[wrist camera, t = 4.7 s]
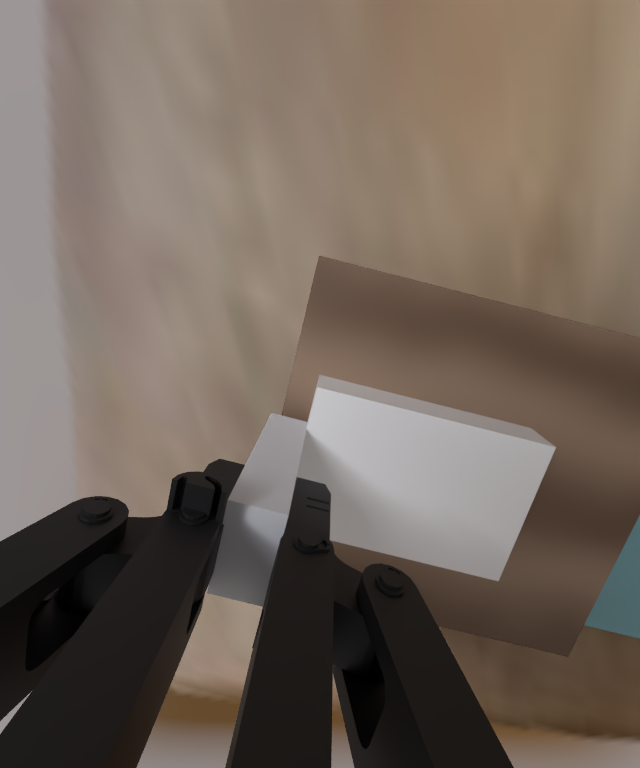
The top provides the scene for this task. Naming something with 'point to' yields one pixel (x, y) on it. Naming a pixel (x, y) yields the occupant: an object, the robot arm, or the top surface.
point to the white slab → (421, 476)
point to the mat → (621, 592)
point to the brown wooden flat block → (502, 402)
